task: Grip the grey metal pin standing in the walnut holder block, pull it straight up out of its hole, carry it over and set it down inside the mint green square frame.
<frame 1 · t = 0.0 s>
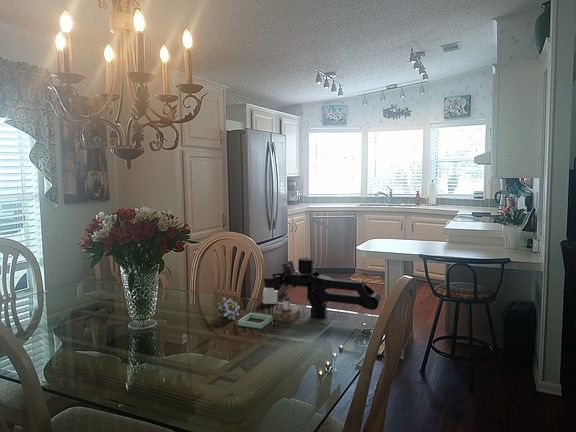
hand: (268, 277, 208), 17 cm above the table, tool horizontal, fingers open, 9 cm apart
medicine bottle: (270, 303, 223), on the table
mint green square frame: (255, 324, 193), on the table
metal pin: (286, 317, 199), point 1 cm above the table, touching holder block
passion flower: (227, 318, 202), on the table
holder block: (286, 319, 199), on the table
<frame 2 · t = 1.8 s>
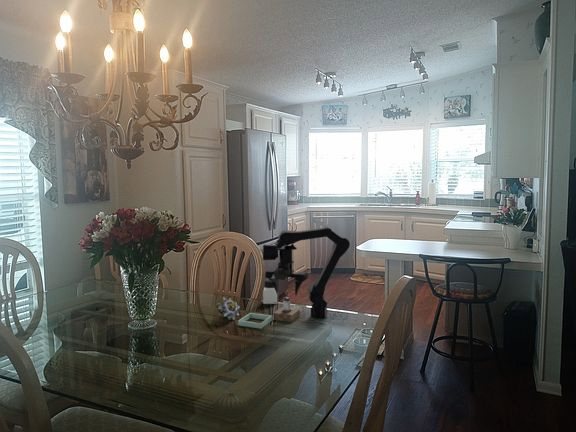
hand: (286, 294, 198), 12 cm above the table, tool pointing down, fingers open, 9 cm apart
nothing on the table moved.
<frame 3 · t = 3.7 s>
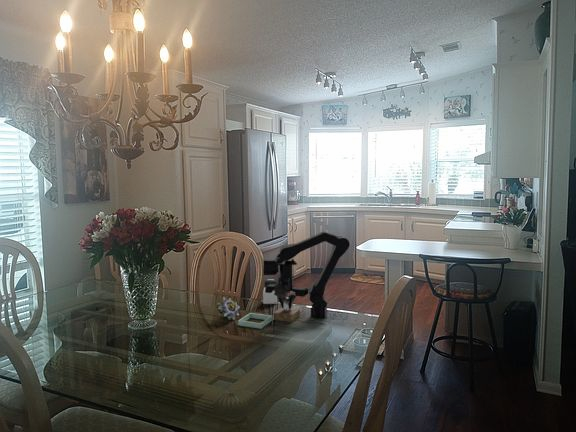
hand: (286, 308, 198), 5 cm above the table, tool pointing down, fingers closed on metal pin, 3 cm apart
metal pin: (286, 317, 199), point 1 cm above the table, touching gripper, holder block
everything else where it was.
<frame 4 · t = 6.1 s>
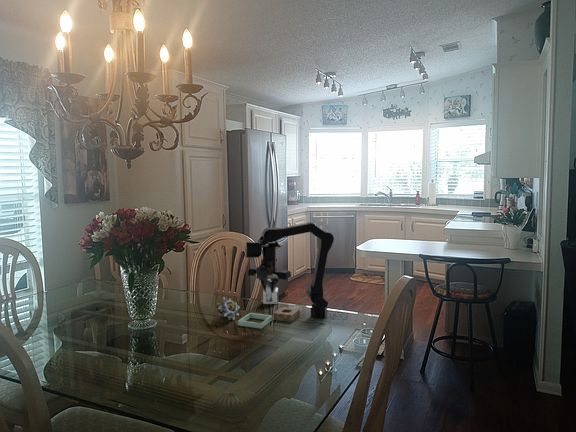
hand: (269, 292, 194), 14 cm above the table, tool pointing down, fingers closed on metal pin, 3 cm apart
metal pin: (269, 301, 195), point 10 cm above the table, touching gripper
everything else where it was.
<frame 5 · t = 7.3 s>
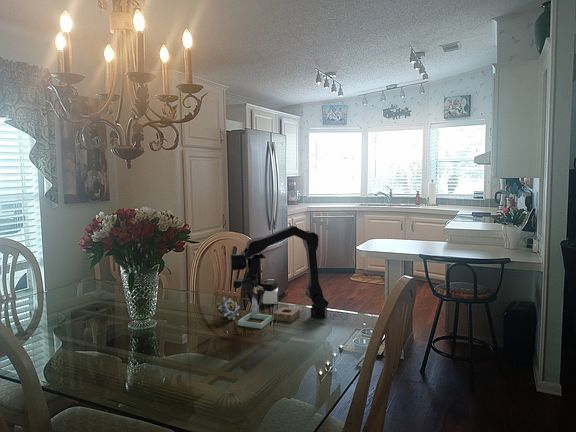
hand: (255, 304, 192), 9 cm above the table, tool pointing down, fingers closed on metal pin, 3 cm apart
metal pin: (255, 313, 192), point 5 cm above the table, touching gripper
everything else where it was.
when the fingers open (6 cm above the table, at t = 8.5 s): metal pin drops 1 cm, resting on mint green square frame.
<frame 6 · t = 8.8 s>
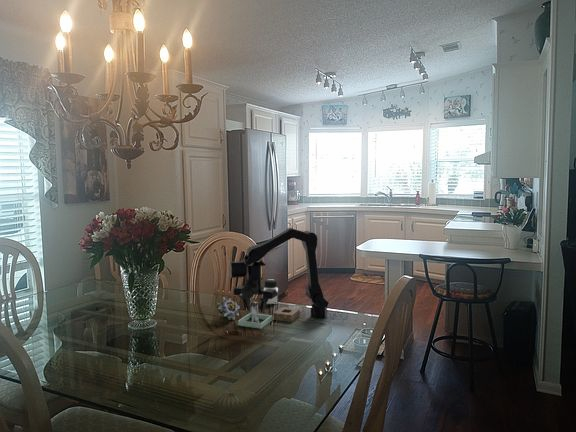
hand: (255, 311, 192), 6 cm above the table, tool pointing down, fingers open, 6 cm apart
metal pin: (255, 322, 193), point 1 cm above the table, touching mint green square frame
everything else where it was.
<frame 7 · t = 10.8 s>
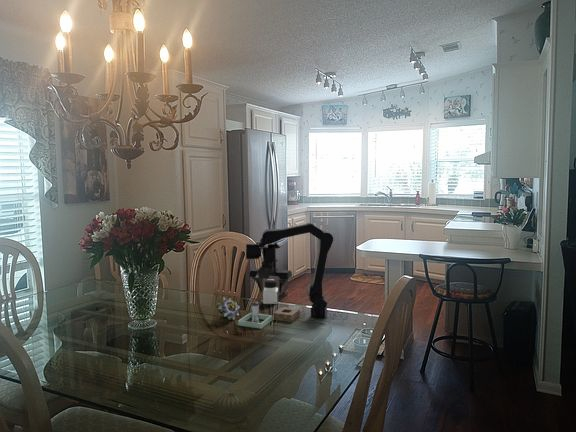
hand: (271, 292, 197), 13 cm above the table, tool pointing down, fingers open, 9 cm apart
nothing on the table moved.
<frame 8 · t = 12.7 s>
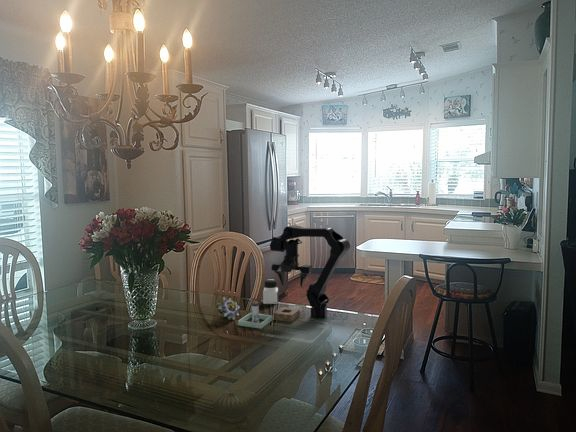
hand: (292, 286, 206), 13 cm above the table, tool pointing down, fingers open, 9 cm apart
nothing on the table moved.
at the end: metal pin inside the target area on the mint green square frame (0.0 cm from its centre), point 0.8 cm above the mint green square frame's base; the gripper is holding nothing; metal pin touching mint green square frame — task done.
